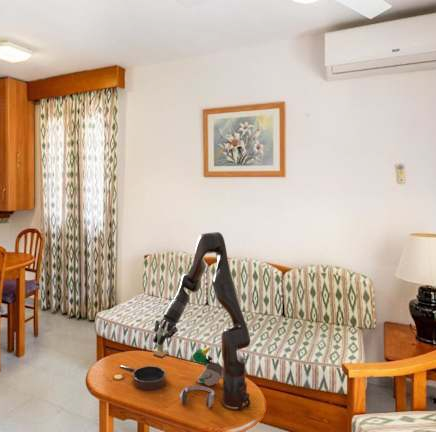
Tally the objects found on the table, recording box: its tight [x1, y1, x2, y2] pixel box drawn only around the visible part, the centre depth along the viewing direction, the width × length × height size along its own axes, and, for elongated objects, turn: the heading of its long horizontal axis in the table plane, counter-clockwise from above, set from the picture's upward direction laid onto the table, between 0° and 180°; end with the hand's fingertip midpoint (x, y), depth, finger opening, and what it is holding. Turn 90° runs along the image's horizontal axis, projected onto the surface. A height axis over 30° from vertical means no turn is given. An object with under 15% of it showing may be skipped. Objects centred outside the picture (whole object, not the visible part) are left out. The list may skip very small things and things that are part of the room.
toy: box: [192, 346, 223, 389], centre depth 181 cm, size 6×17×20 cm
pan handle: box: [119, 364, 136, 374], centre depth 188 cm, size 11×2×2 cm, turn 58°
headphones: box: [169, 385, 216, 409], centre depth 167 cm, size 17×6×20 cm
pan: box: [132, 365, 167, 392], centre depth 181 cm, size 15×15×4 cm
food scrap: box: [113, 374, 124, 380], centre depth 185 cm, size 4×4×1 cm
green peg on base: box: [152, 332, 168, 360], centre depth 182 cm, size 5×4×11 cm
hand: (157, 343), depth 180 cm, fingers closed on green peg on base, 2 cm apart
